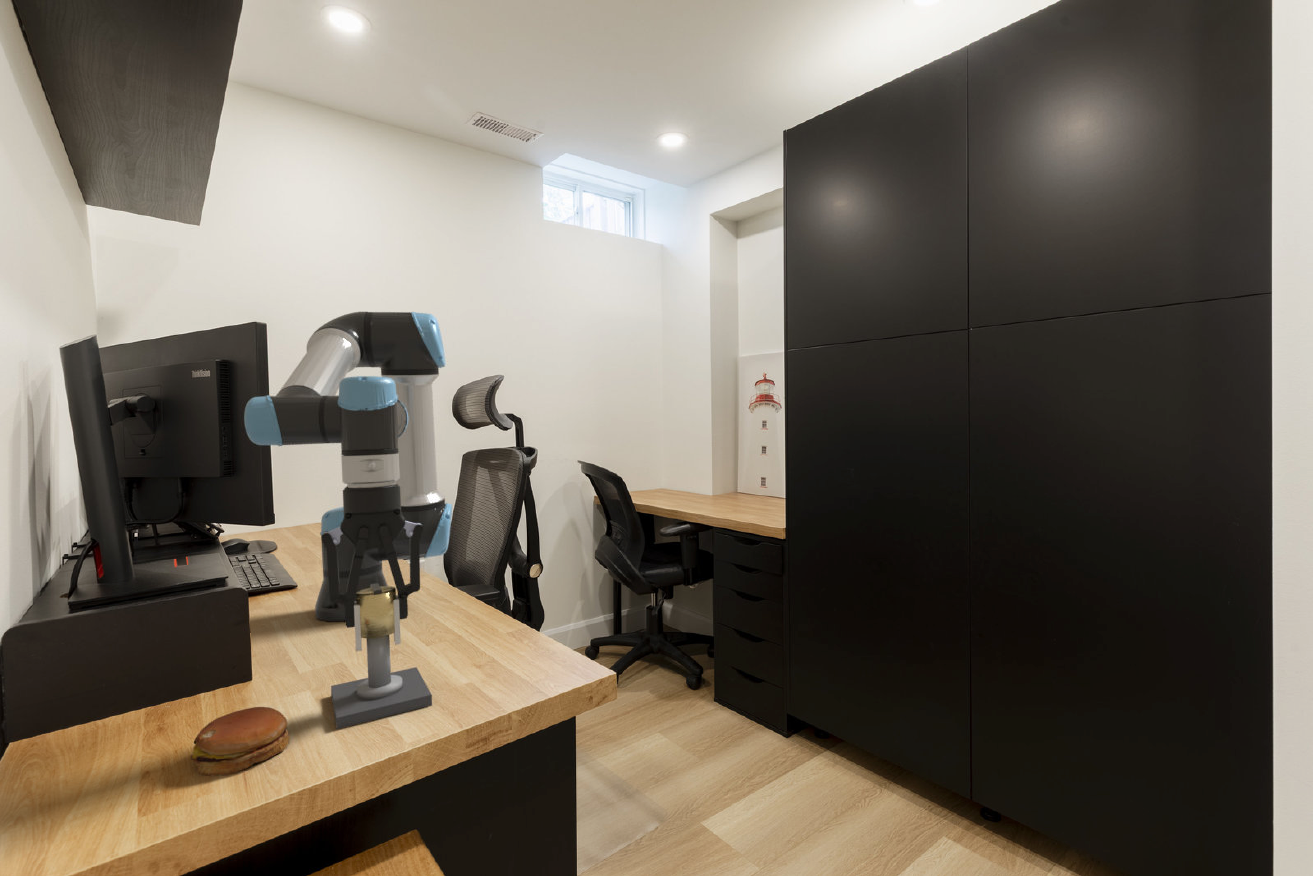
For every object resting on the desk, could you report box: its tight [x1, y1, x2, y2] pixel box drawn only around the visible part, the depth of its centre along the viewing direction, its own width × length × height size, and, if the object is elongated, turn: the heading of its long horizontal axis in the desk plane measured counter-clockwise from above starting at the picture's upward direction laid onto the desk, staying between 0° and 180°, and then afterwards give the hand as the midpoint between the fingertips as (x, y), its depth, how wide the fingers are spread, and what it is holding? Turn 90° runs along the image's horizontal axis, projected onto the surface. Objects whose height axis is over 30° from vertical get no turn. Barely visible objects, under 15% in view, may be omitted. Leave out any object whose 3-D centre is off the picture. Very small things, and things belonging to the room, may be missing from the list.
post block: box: [330, 635, 433, 730], centre depth 88 cm, size 12×12×10 cm
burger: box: [190, 706, 290, 777], centre depth 75 cm, size 10×9×5 cm
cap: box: [356, 583, 397, 639], centre depth 88 cm, size 5×5×7 cm
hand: (378, 644), depth 88 cm, fingers closed on cap, 4 cm apart
